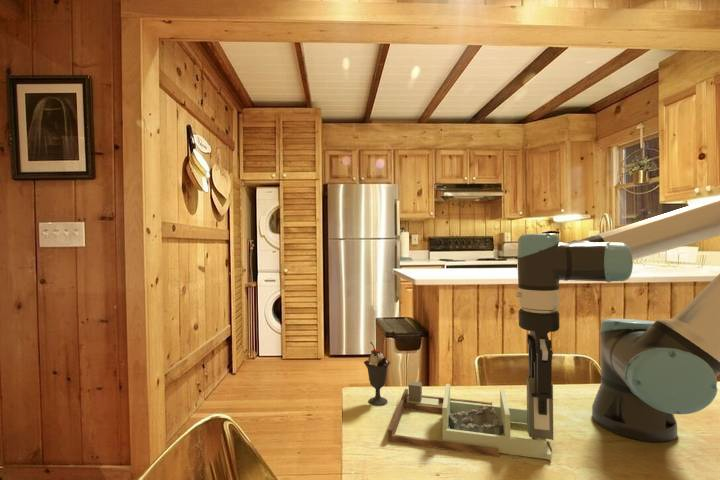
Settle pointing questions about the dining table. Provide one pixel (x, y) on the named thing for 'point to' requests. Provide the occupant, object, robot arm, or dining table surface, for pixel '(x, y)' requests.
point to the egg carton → (477, 421)
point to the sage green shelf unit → (506, 416)
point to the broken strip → (428, 401)
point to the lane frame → (428, 442)
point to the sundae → (377, 375)
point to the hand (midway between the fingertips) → (540, 423)
